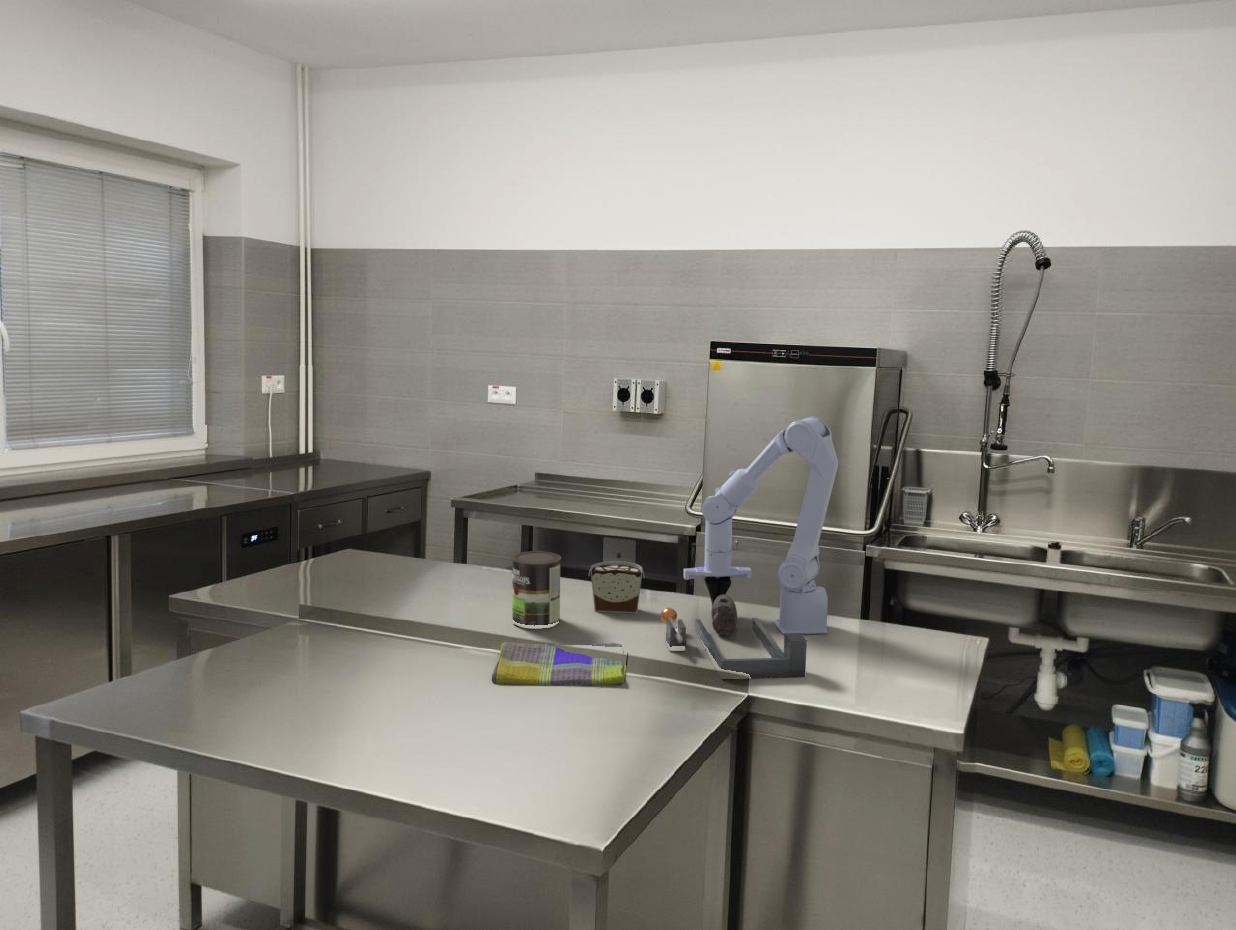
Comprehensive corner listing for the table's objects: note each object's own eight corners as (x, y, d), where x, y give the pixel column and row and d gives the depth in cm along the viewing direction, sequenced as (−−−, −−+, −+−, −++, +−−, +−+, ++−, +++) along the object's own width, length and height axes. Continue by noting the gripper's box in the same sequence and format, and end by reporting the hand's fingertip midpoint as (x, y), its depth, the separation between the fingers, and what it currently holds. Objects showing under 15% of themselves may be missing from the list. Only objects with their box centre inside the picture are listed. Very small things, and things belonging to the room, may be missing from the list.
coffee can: (528, 633, 193) (528, 566, 191) (502, 619, 201) (502, 555, 199) (570, 623, 199) (570, 558, 197) (543, 610, 207) (543, 548, 205)
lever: (675, 621, 197) (675, 605, 196) (689, 648, 181) (689, 631, 180) (659, 621, 196) (659, 605, 196) (671, 649, 180) (672, 632, 180)
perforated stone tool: (710, 616, 205) (711, 585, 204) (735, 617, 204) (736, 586, 203) (710, 640, 190) (711, 606, 189) (737, 641, 190) (738, 608, 189)
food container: (646, 604, 212) (646, 561, 211) (644, 613, 206) (644, 569, 204) (591, 602, 213) (591, 559, 212) (588, 611, 207) (588, 567, 206)
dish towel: (623, 691, 166) (624, 676, 166) (486, 686, 167) (486, 671, 167) (628, 654, 183) (628, 641, 183) (503, 651, 184) (503, 637, 184)
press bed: (768, 629, 197) (769, 596, 196) (805, 677, 172) (806, 640, 170) (660, 631, 195) (661, 598, 194) (682, 680, 169) (682, 643, 168)
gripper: (746, 544, 208) (744, 603, 210) (681, 545, 207) (680, 605, 209) (754, 552, 201) (752, 613, 204) (687, 553, 200) (685, 615, 202)
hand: (716, 610), depth 206 cm, fingers closed
